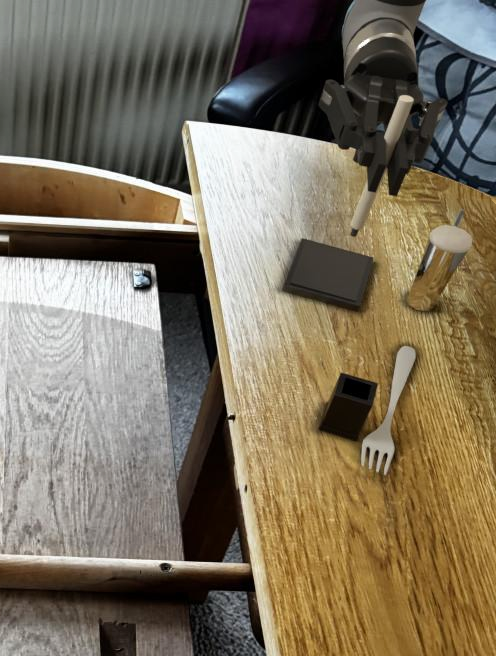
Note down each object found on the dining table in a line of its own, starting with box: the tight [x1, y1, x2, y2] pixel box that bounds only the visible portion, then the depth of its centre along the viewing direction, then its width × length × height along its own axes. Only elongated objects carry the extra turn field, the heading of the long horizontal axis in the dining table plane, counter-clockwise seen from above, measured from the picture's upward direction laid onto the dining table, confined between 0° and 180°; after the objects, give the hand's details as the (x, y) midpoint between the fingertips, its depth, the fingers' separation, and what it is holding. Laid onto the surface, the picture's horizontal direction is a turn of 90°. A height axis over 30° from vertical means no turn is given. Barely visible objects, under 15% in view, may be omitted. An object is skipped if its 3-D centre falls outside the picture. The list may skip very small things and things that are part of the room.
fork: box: [360, 345, 416, 476], centre depth 97 cm, size 3×24×2 cm, turn 156°
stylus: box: [349, 95, 414, 238], centre depth 94 cm, size 1×1×14 cm
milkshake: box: [406, 208, 473, 312], centre depth 106 cm, size 5×5×10 cm
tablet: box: [281, 237, 375, 312], centre depth 111 cm, size 9×11×1 cm
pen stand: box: [318, 372, 379, 442], centre depth 94 cm, size 4×4×4 cm
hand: (387, 179), depth 89 cm, fingers closed on stylus
